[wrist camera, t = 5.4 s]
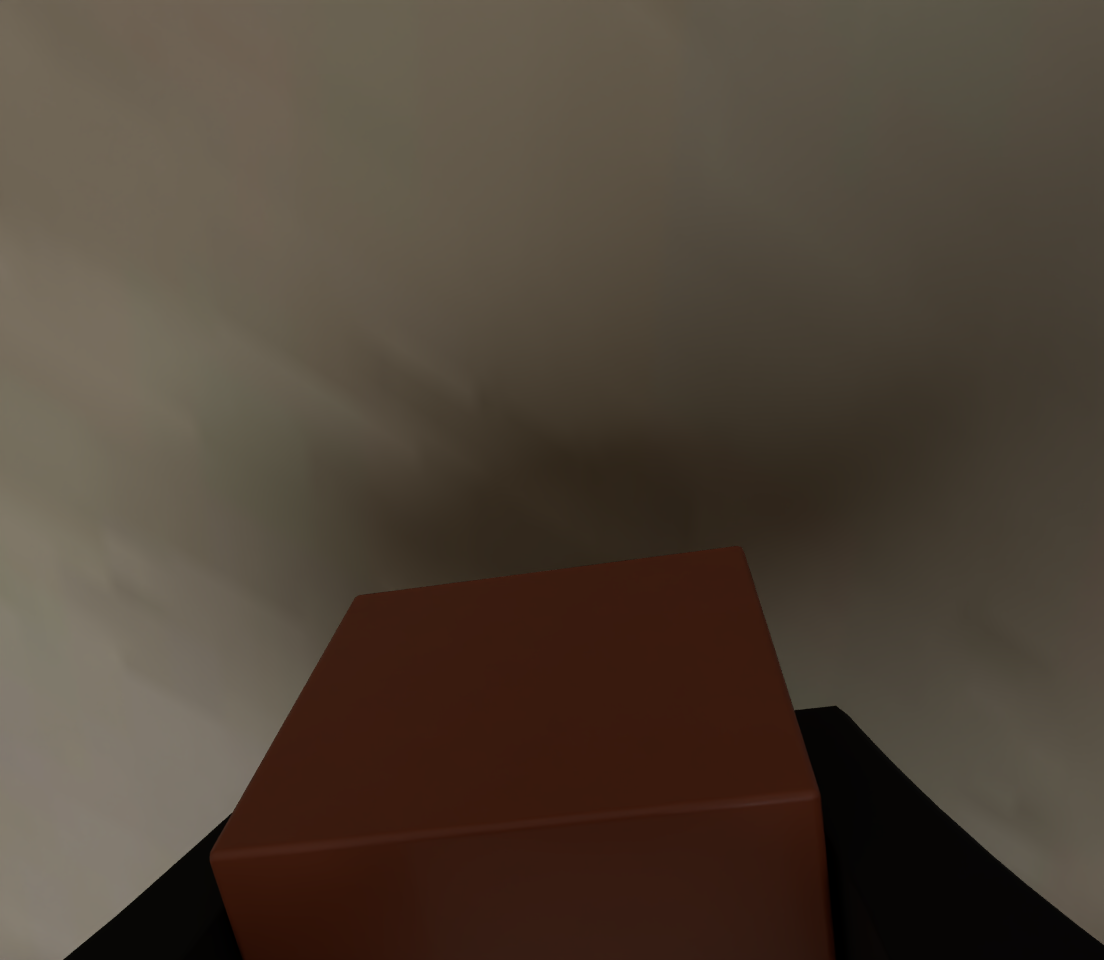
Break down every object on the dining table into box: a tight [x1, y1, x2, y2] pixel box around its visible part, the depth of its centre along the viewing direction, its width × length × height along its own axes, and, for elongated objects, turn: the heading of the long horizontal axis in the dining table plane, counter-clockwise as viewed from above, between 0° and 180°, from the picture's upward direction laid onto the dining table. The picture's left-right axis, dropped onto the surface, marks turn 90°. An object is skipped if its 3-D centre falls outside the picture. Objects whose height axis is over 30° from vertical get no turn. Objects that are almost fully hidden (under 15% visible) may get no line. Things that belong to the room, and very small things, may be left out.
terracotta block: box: [210, 546, 837, 960], centre depth 9 cm, size 4×4×4 cm
